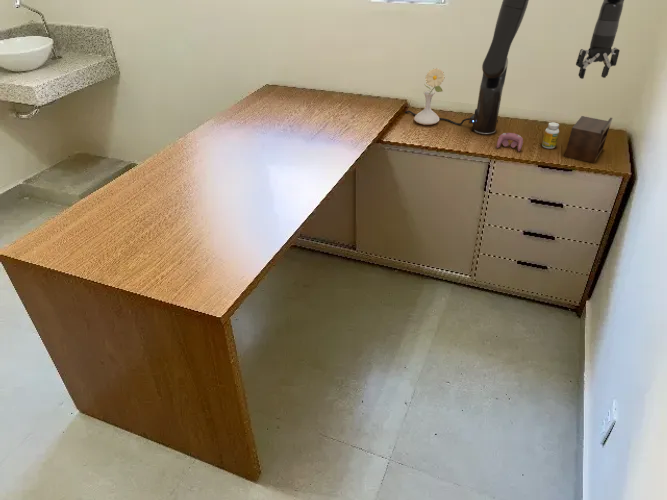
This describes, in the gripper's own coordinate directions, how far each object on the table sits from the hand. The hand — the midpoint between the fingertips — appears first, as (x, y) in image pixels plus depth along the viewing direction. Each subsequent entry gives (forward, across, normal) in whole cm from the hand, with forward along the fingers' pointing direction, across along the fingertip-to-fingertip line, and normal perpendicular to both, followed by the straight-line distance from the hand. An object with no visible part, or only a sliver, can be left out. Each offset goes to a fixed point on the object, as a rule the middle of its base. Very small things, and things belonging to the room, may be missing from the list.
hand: (592, 77), depth 192 cm
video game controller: (+28, +27, 0) cm, 39 cm away
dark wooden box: (+27, 0, +8) cm, 29 cm away
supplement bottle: (+28, +11, 0) cm, 30 cm away
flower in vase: (+28, +54, -30) cm, 68 cm away
